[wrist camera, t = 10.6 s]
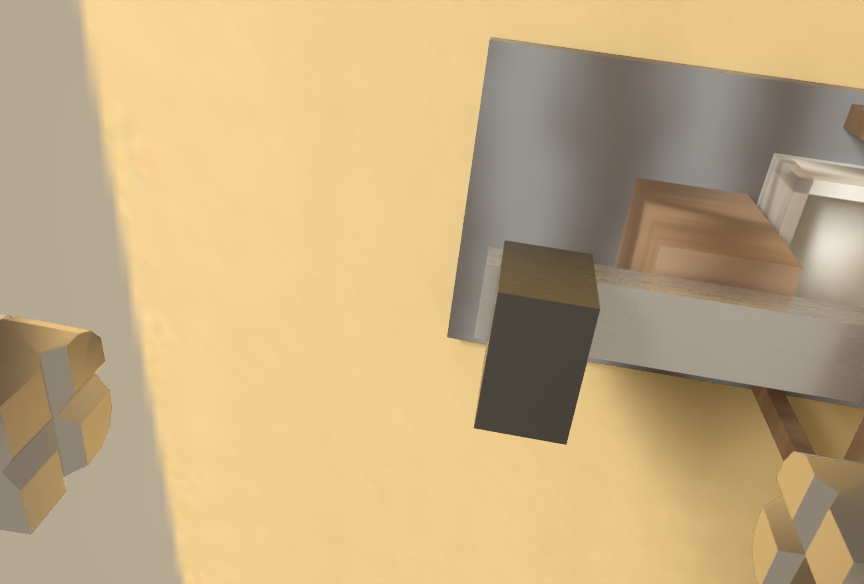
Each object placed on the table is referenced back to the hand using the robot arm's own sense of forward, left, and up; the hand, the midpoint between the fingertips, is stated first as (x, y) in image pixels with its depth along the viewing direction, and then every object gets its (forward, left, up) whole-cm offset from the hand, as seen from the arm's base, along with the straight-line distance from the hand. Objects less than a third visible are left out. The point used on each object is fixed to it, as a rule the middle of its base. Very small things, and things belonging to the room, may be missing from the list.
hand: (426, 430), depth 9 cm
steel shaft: (+7, +11, -18) cm, 22 cm away
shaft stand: (+7, +11, -27) cm, 30 cm away
